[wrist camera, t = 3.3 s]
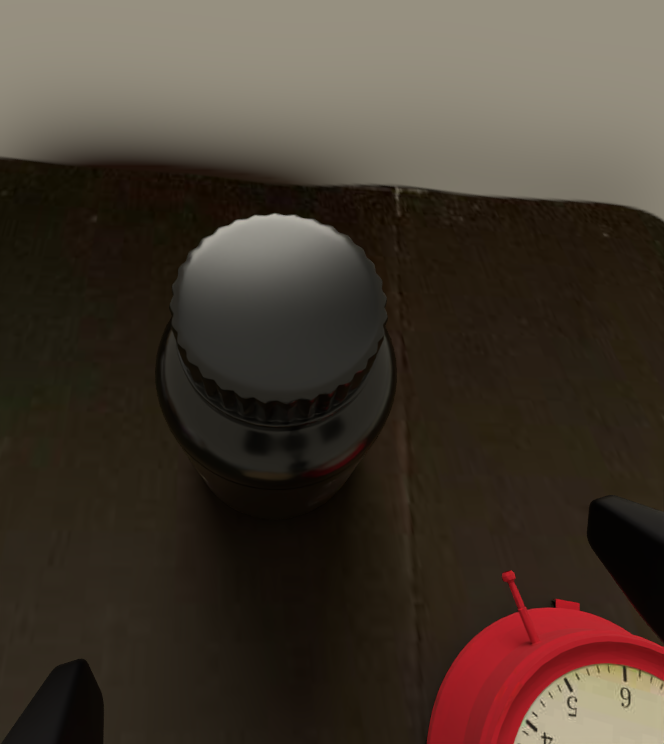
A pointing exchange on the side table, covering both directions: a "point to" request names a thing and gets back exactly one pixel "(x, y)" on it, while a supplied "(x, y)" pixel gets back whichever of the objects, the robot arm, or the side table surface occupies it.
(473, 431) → the side table surface
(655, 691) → the alarm clock
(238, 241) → the supplement bottle
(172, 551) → the side table surface
